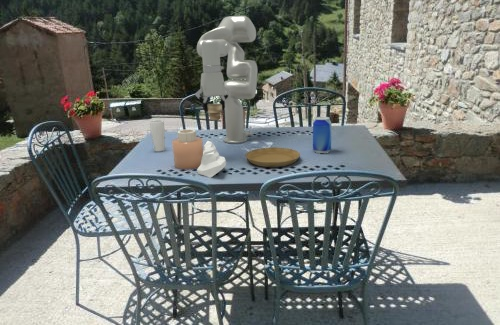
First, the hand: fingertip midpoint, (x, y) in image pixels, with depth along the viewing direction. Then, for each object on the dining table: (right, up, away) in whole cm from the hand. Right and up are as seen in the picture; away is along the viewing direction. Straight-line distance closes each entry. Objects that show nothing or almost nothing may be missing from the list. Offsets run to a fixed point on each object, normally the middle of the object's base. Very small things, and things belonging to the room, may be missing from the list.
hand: (214, 110), depth 189 cm
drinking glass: (-29, -17, +24) cm, 41 cm away
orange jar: (-11, -24, -1) cm, 26 cm away
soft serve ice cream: (0, -28, -13) cm, 30 cm away
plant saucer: (+26, -23, 0) cm, 35 cm away
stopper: (0, -4, +1) cm, 4 cm away
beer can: (+50, -18, +11) cm, 54 cm away
